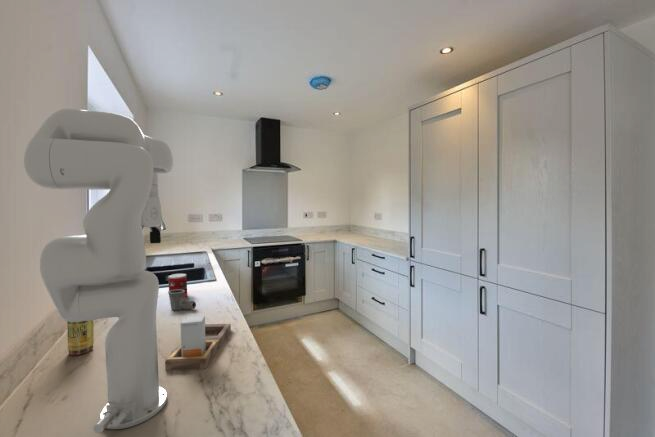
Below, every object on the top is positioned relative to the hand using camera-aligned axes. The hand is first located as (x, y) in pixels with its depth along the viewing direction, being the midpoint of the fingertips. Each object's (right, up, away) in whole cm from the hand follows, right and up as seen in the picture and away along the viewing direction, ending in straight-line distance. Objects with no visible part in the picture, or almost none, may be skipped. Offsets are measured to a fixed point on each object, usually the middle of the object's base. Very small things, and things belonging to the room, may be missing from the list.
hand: (146, 245), depth 91 cm
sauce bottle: (-21, -34, 0) cm, 40 cm away
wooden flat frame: (+17, -33, +2) cm, 37 cm away
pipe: (-7, -32, +35) cm, 48 cm away
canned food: (-17, -31, +51) cm, 62 cm away
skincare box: (+17, -34, -5) cm, 38 cm away
